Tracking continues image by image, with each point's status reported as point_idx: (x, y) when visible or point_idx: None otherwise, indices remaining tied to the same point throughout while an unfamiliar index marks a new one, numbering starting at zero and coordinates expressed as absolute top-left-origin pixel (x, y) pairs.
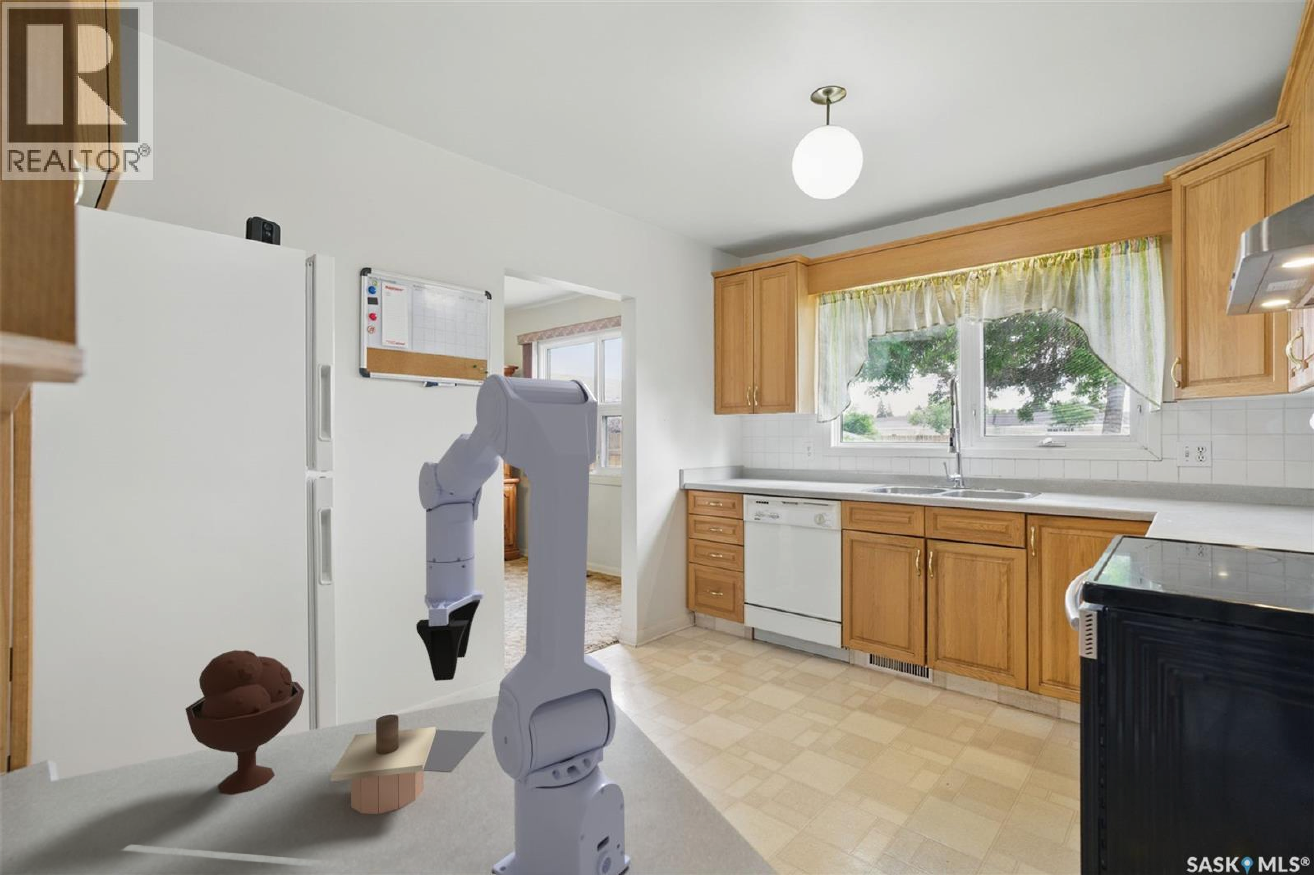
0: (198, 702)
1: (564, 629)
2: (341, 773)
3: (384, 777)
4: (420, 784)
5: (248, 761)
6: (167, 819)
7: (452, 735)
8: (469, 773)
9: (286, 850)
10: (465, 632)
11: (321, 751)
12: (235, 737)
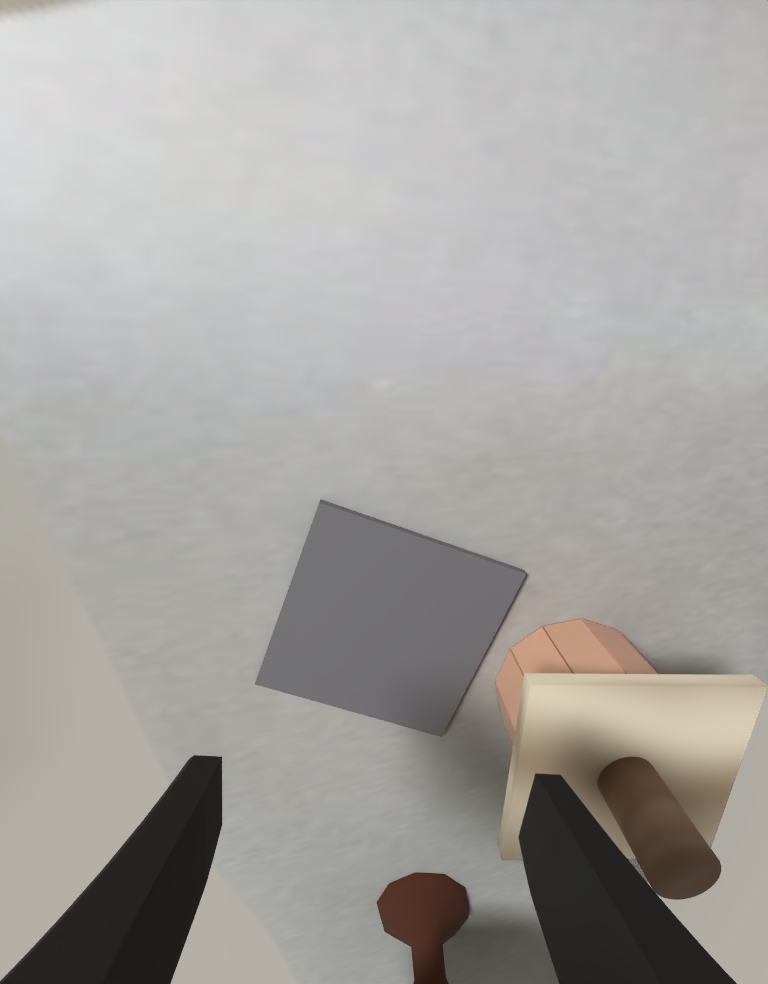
0: None
1: None
2: (709, 841)
3: None
4: (609, 640)
5: (443, 962)
6: (501, 955)
7: (320, 590)
8: (527, 528)
9: None
10: (136, 942)
11: (317, 835)
12: None
